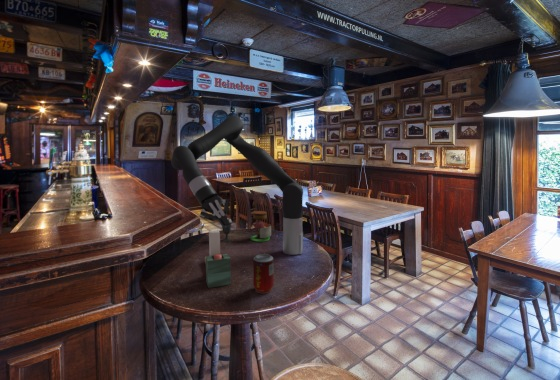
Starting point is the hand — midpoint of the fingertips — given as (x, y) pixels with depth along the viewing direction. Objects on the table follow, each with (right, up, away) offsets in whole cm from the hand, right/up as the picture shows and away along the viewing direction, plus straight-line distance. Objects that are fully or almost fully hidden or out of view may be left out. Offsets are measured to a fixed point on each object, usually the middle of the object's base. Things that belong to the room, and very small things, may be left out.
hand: (227, 226), depth 113 cm
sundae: (-9, -14, +50) cm, 53 cm away
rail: (-7, -20, +7) cm, 22 cm away
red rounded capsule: (-3, -15, -3) cm, 16 cm away
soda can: (+14, -22, -7) cm, 27 cm away
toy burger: (+9, -14, +52) cm, 55 cm away
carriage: (-5, -20, +3) cm, 21 cm away
